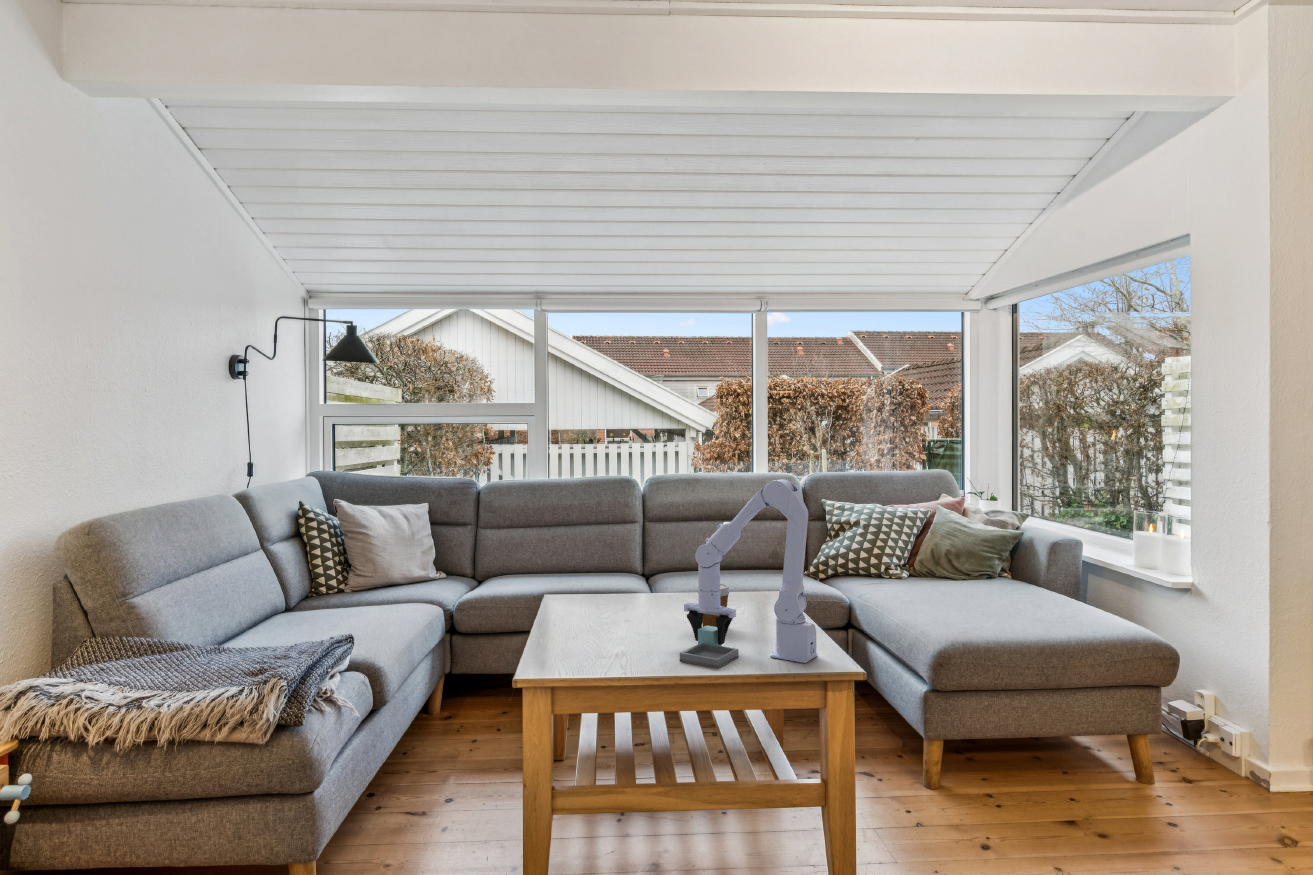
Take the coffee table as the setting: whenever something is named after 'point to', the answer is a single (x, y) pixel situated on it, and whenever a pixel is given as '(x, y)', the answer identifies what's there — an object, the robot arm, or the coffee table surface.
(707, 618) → the disposable coffee cup
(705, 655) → the tray
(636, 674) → the coffee table surface
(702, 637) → the teal block
